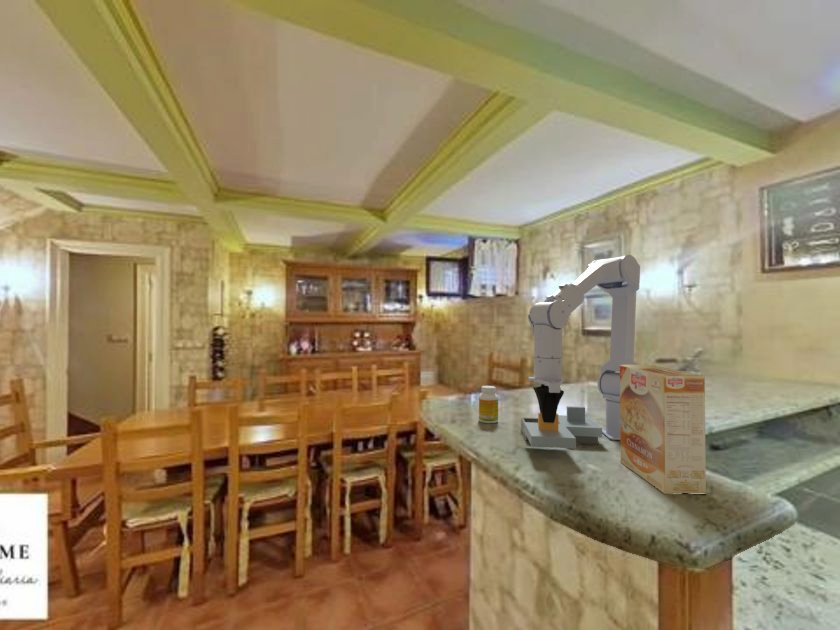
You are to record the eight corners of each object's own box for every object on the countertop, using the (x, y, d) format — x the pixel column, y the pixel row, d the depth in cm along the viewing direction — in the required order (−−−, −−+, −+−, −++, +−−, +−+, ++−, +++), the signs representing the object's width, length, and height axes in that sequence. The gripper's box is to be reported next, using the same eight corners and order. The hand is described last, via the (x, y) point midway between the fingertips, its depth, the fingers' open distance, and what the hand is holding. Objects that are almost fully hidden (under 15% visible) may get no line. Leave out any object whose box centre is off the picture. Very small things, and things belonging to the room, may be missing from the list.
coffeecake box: (618, 462, 78) (618, 364, 78) (654, 462, 77) (654, 364, 78) (663, 494, 63) (662, 373, 63) (708, 495, 62) (707, 374, 63)
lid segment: (562, 435, 89) (562, 411, 89) (552, 422, 100) (552, 401, 100) (602, 437, 88) (602, 413, 88) (587, 424, 99) (587, 403, 99)
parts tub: (585, 432, 99) (585, 420, 99) (597, 444, 89) (597, 430, 89) (520, 429, 101) (520, 417, 101) (525, 441, 91) (526, 427, 91)
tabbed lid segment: (562, 432, 88) (562, 408, 88) (575, 448, 77) (576, 421, 77) (524, 430, 89) (524, 407, 89) (531, 446, 78) (531, 419, 78)
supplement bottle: (498, 424, 107) (498, 388, 107) (478, 423, 108) (478, 387, 108) (498, 419, 112) (498, 385, 112) (479, 418, 113) (479, 384, 113)
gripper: (524, 354, 91) (524, 412, 91) (533, 360, 77) (533, 429, 76) (555, 355, 90) (555, 414, 90) (571, 360, 76) (571, 430, 75)
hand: (547, 421), depth 83 cm, fingers closed on tabbed lid segment
